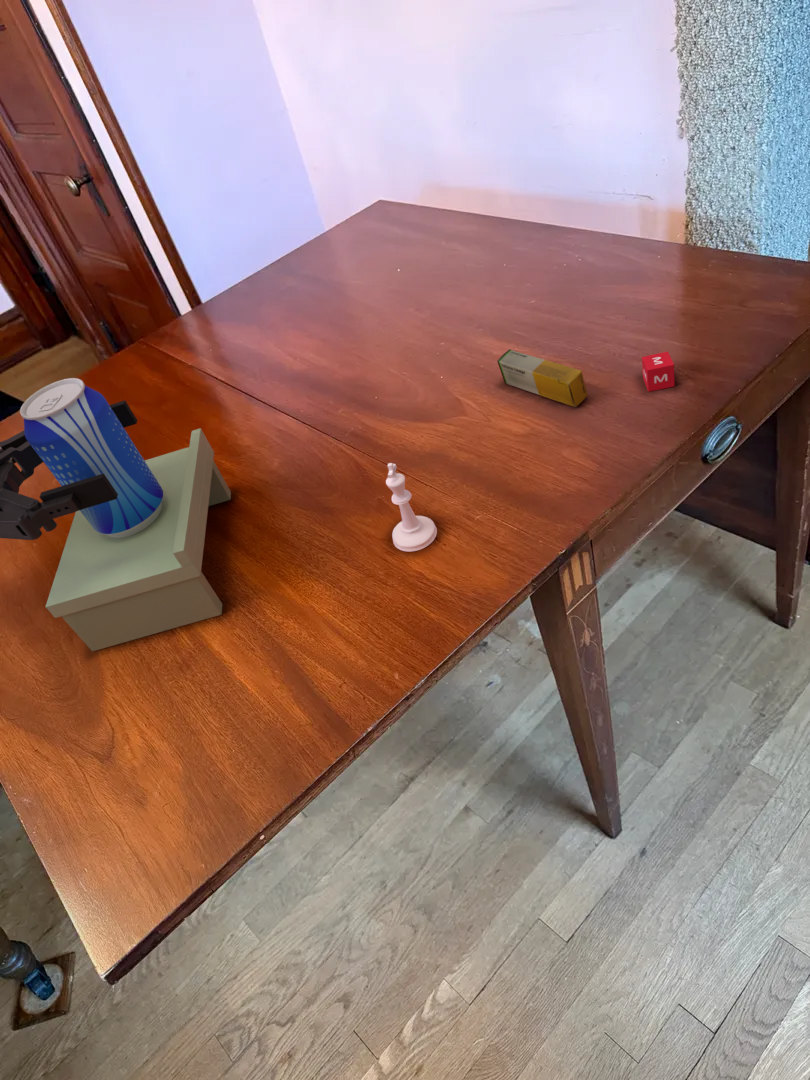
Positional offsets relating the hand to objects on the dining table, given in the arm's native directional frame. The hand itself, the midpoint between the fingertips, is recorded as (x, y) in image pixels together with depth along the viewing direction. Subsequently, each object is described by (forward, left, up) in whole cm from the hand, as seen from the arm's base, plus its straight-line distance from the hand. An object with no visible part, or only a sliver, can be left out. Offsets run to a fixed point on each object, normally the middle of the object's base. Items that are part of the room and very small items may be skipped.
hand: (121, 446), depth 77 cm
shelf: (-2, +2, -17) cm, 17 cm away
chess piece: (+12, -25, -17) cm, 32 cm away
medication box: (+39, -27, -17) cm, 50 cm away
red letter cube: (+44, -40, -17) cm, 61 cm away
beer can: (-2, +2, -9) cm, 9 cm away
